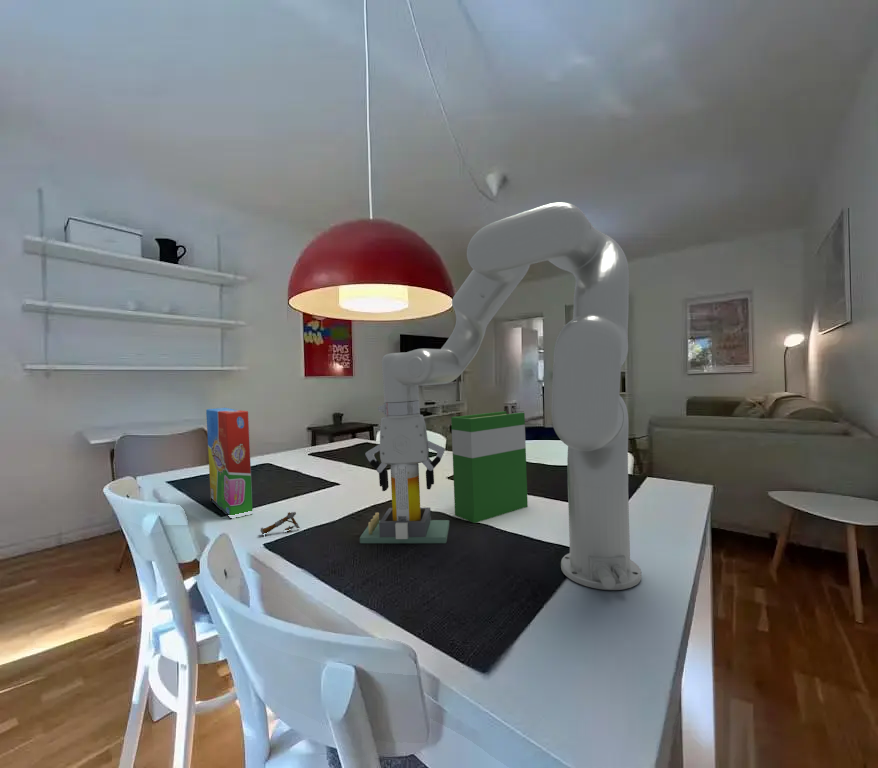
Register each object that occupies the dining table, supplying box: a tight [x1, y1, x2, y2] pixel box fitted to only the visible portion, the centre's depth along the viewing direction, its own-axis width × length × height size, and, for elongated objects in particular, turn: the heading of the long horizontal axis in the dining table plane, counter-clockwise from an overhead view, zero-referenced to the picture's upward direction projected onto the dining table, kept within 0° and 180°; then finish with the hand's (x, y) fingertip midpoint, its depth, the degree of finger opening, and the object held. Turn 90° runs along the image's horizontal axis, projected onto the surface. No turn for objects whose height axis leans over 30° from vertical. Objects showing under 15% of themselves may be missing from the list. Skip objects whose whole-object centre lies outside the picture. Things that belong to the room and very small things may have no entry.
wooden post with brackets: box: [259, 511, 300, 535], centre depth 94 cm, size 2×8×4 cm, turn 109°
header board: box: [359, 507, 450, 544], centre depth 90 cm, size 11×18×4 cm, turn 85°
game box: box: [205, 407, 253, 515], centre depth 113 cm, size 21×6×27 cm, turn 42°
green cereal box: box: [450, 410, 529, 524], centre depth 103 cm, size 18×7×24 cm, turn 125°
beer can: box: [390, 463, 421, 521], centre depth 90 cm, size 6×6×15 cm
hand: (407, 488), depth 90 cm, fingers open, 9 cm apart
